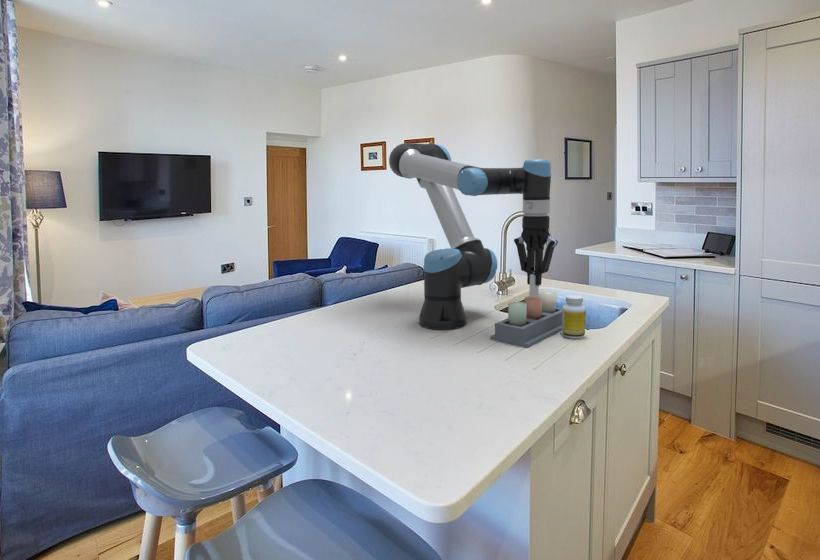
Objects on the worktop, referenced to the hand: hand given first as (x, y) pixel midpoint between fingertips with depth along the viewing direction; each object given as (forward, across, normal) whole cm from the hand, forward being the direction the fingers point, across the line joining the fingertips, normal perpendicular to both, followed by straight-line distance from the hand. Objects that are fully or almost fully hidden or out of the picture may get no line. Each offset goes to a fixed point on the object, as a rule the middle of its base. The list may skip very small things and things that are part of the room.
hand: (533, 295), depth 147 cm
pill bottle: (+12, +10, +4) cm, 16 cm away
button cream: (+7, 0, +9) cm, 11 cm away
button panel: (+11, 0, 0) cm, 11 cm away
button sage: (+7, 0, -9) cm, 11 cm away
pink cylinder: (+7, 0, 0) cm, 7 cm away
